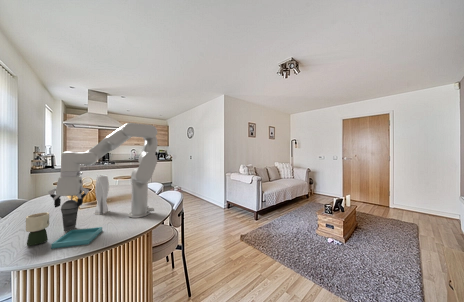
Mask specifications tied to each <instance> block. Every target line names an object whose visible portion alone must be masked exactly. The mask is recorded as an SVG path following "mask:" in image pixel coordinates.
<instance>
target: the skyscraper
mask: <svg viewBox="0 0 464 302" xmlns="http://www.w3.org/2000/svg"><path fill="white" fill-rule="evenodd" d="M96 175H97V176H96V181H95V187H94V189H95V191H94V192H95V199H96V207H95V212H94V213H93V214H95V216H97V215H98V216H104V215H105V213H106V214H108V213H109V212H111V210H109V206H108V203H107V199H108V195H109V190H110V186H109V185H110V183H109V178H108V174H106V175H105V174H104V173H103V174H99V172H97V173H96Z"/></svg>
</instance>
